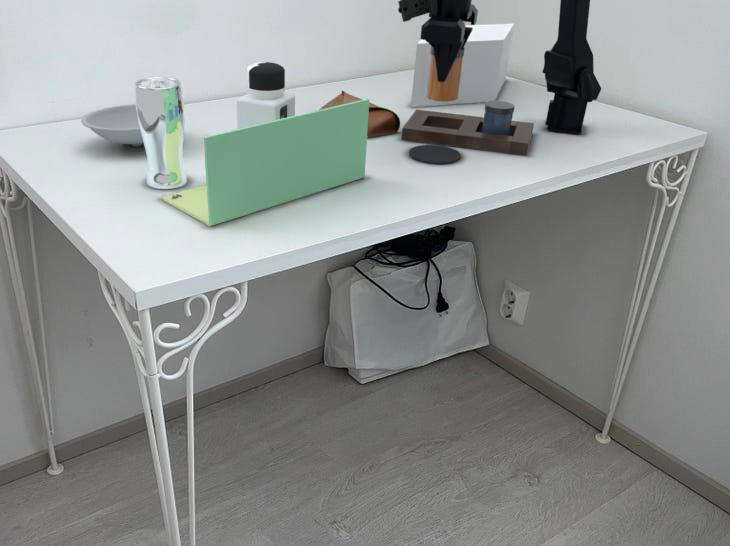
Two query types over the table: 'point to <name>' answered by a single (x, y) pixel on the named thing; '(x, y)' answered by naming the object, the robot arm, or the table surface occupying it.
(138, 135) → the dish
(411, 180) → the table surface
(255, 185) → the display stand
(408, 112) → the table surface
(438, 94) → the amber jar
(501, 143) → the jar stand
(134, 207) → the table surface
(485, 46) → the block
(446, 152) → the coaster
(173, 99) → the beer glass
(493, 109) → the spice jar
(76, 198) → the table surface
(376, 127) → the sunglasses case
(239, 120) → the container
